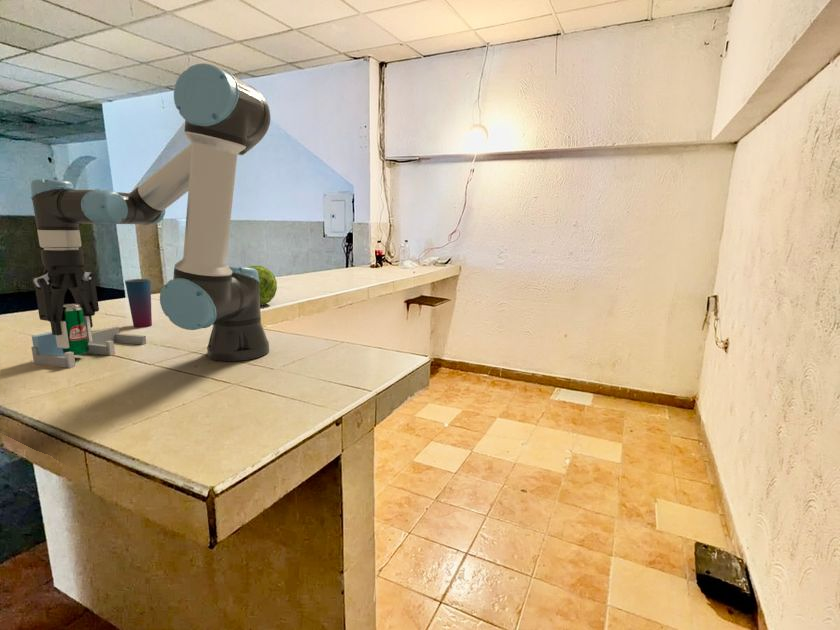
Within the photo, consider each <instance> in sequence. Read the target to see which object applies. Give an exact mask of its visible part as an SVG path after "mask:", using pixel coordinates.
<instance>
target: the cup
mask: <svg viewBox="0 0 840 630" xmlns="http://www.w3.org/2000/svg"><path fill="white" fill-rule="evenodd" d="M124 282H125V289H126V292H127V293H126V295H127V299H128V303H129V304H128V305H129V309H130V313H131V320H132V325H133V327H134V328H136V329H137V328H138V329H140V328H141V329H143V328H148V327H151V326H152V325H153V324H152V323H153V319H152V315H153V314H152V290H151V289H152V287H151V285H152V284H151V279H150V278H131V279H126V280H125V281H124Z"/></svg>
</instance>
